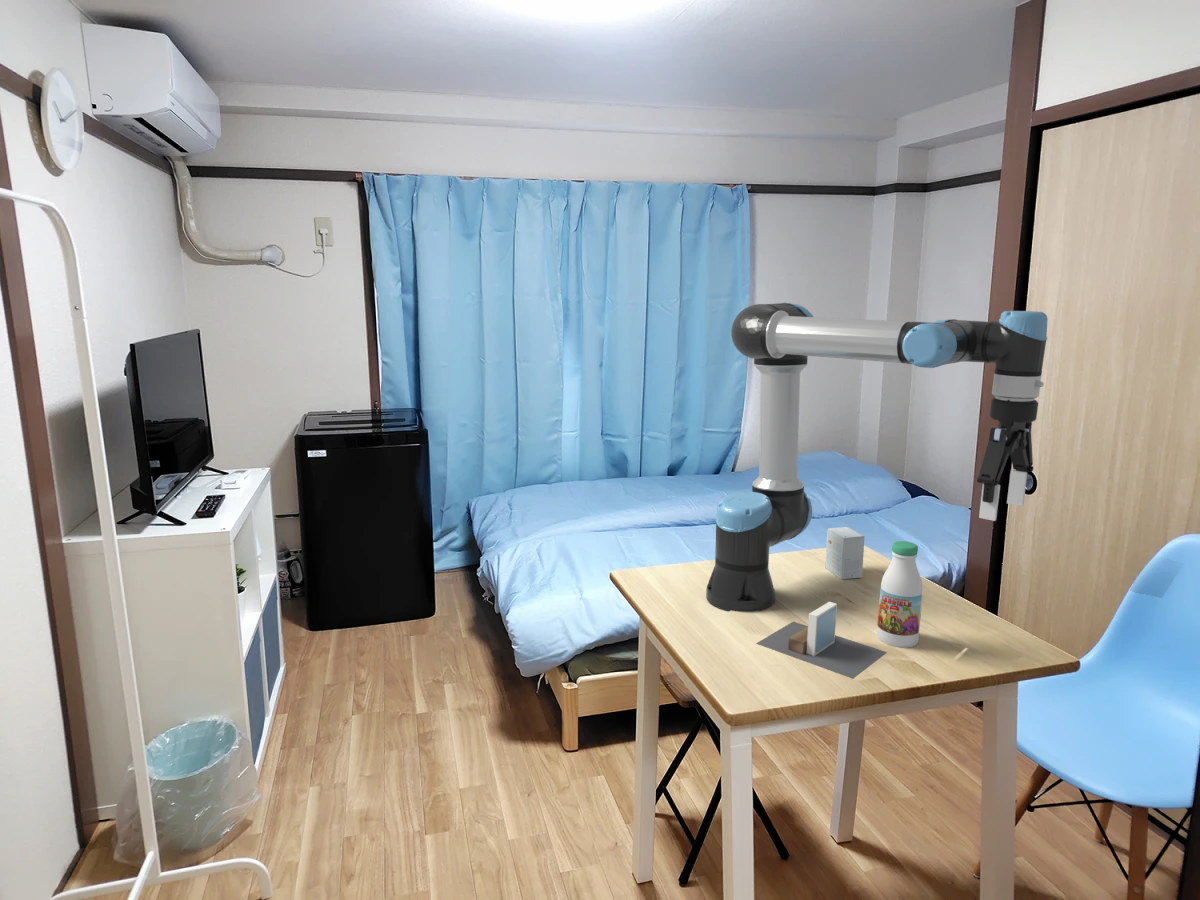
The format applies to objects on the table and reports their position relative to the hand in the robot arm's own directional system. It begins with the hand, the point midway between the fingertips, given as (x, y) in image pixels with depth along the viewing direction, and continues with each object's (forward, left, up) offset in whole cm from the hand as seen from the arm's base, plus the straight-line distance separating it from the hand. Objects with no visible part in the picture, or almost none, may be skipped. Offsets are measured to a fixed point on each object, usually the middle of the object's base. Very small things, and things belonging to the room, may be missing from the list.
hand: (1001, 511), depth 144 cm
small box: (-39, +18, -28) cm, 51 cm away
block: (-26, -23, -27) cm, 43 cm away
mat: (-23, -23, -28) cm, 42 cm away
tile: (-23, -23, -27) cm, 42 cm away
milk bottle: (-14, -9, -28) cm, 32 cm away
